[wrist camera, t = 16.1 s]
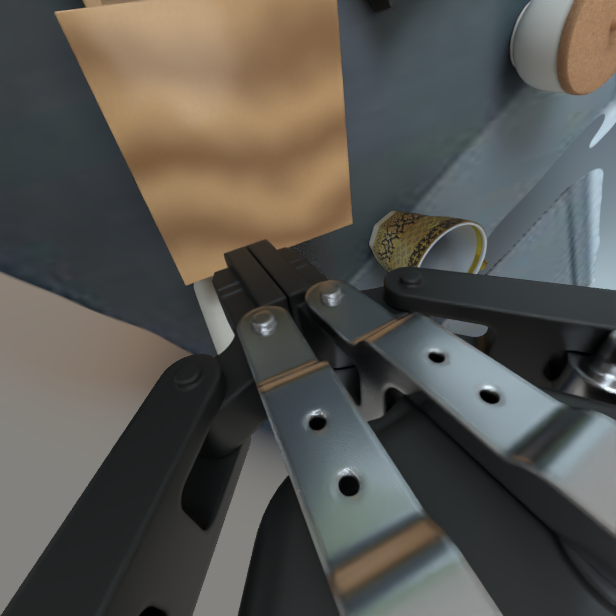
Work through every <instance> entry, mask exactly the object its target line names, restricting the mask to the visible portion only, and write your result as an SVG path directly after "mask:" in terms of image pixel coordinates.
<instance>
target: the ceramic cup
mask: <svg viewBox="0 0 616 616" xmlns="http://www.w3.org/2000/svg"><path fill="white" fill-rule="evenodd" d="M369 245H370V248H371V250H372V252H373V254H374V256H375V258H376V259H377V261H378V262H379V263H380V264H381V265H382V266H383V267H384V268H385V269H386V270H387V272H388V273H389V272H390V271H392V270H394V269H397V268H400V267H421V268H429V269H438V270H446V271H455V272H463V273H472V274H477V273H478V271H479V270H482V269H484V268H485V267H486V266H487V261H485V260H484V257H485V253H486V248H487V237H486V233H485V230H484V229H483V227H482V226H481V225H480V224H478V223H476V222H474V221H469V220H464V219H458V218H451V217H440V216H427V215H421V214H416V213H410V212H402V211H391V212H389V213H388V214H387V215H386V216H385V217H383V218H382V219H381V220H380V221H379V222H378V223H376V224H375V226H374V228H373V232H372V235H371V238H370V242H369Z"/></svg>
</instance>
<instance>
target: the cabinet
mask: <svg viewBox="0 0 616 616" xmlns="http://www.w3.org/2000/svg"><path fill="white" fill-rule="evenodd" d="M55 16H56V18H57V20H58V22H59V24H60V26H61V28H62V30H63V32H64V34H65V36H66V38H67V40H68V42H69V45H70V47H71V49H72V51H73V53H74V55H75V57H76V59H77V61H78V63H79V65H80V67H81V69H82V71H83V74H84V76H85V78H86V80H87V82H88V84H89V86H90V88H91V90H92V92H93V94H94V96H95V98H96V100H97V103H98V105H99V107H100V109H101V111H102V113H103V115H104V117H105V119H106V121H107V123H108V125H109V127H110V129H111V132H112V134H113V136H114V138H115V140H116V142H117V144H118V146H119V148H120V150H121V152H122V154H123V156H124V158H125V161H126V163H127V165H128V167H129V169H130V171H131V173H132V175H133V177H134V179H135V181H136V183H137V185H138V187H139V190H140V192H141V194H142V196H143V198H144V200H145V202H146V204H147V206H148V208H149V210H150V212H151V214H152V217H153V219H154V221H155V223H156V225H157V227H158V229H159V231H160V233H161V235H162V237H163V239H164V241H165V243H166V246H167V248H168V250H169V252H170V254H171V256H172V258H173V260H174V262H175V264H176V266H177V268H178V270H179V272H180V275H181V277H182V279H183V281H184V283H185V285H189V284H192V283H195V282H197V281H200V280H203V279H205V278H208V277H211V276H213V275H214V272H217V271H219V270H222V269H225V268H228V267H227V264H226V261H225V258H224V253H226V252H229V251H232V250H235V249H238V248H241V247H243V246H246V245H249V244H252V243H255V242H258V241H261V240H264V239H267V240H268V241H269V242H270V243H271V244H272V245H273V246H274V247H275V248H276V249H277V250H278V249H281V248H284V247H286V248H289V247H291V246H294V245H297V244H299V243H302V242H305V241H307V240H310V239H313V238H315V237H318V236H321V235H323V234H326V233H329V232H331V231H334V230H337V229H340V228H342V227H345V226H348V225H350V224H352V223H353V222H352V208H351V194H350V180H349V165H348V151H347V137H346V122H345V108H344V94H343V79H342V65H341V51H340V37H339V22H338V8H337V0H140V1H132V2H125V3H117V4H110V5H102V6H95V7H87V8H79V9H72V10H64V11H57V12H55Z"/></svg>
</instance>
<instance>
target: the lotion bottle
mask: <svg viewBox="0 0 616 616" xmlns="http://www.w3.org/2000/svg"><path fill="white" fill-rule="evenodd" d="M213 276H214V275H213ZM213 276H211V277H208V278H205V279H203V280H200V281H197V282H195V283H194V291H195V294H196V296H197V299H198V302H199V305H200V307H201V310H202V313H203V315H204V318H205V321H206V324H207V326H208V329H209V332H210V334H211V337H212V340H213V343H214V345H215V348H216V351H217V353H218V355H219V354H220V353H221V352H223V351H224V350H225V349H226V348H227V347H228V346H229V345H230V343H231V342H232V340H233V338H234V336H235V335H234V333H233V331H232V329H231V327H230V325H229V323H228V321H227V319H226V317H225V314H224V312H223V309H222V306H221V304H220V301H219V299H218V296H217V293H216V291H215V288H214V286H213V283H212V280H213Z"/></svg>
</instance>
